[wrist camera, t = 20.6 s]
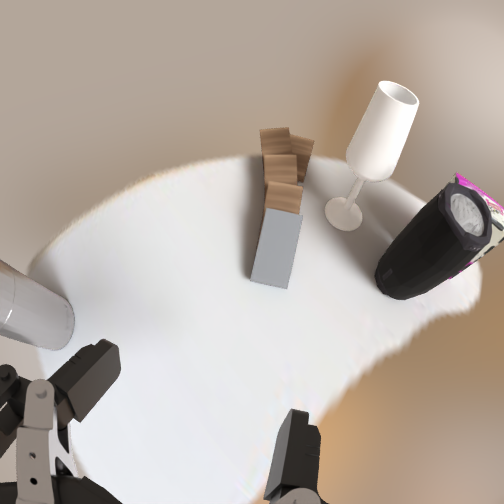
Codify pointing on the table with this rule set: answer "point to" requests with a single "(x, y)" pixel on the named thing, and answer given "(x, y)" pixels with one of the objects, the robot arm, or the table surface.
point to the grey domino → (276, 248)
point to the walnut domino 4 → (301, 154)
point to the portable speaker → (435, 243)
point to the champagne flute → (374, 148)
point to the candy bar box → (500, 216)
